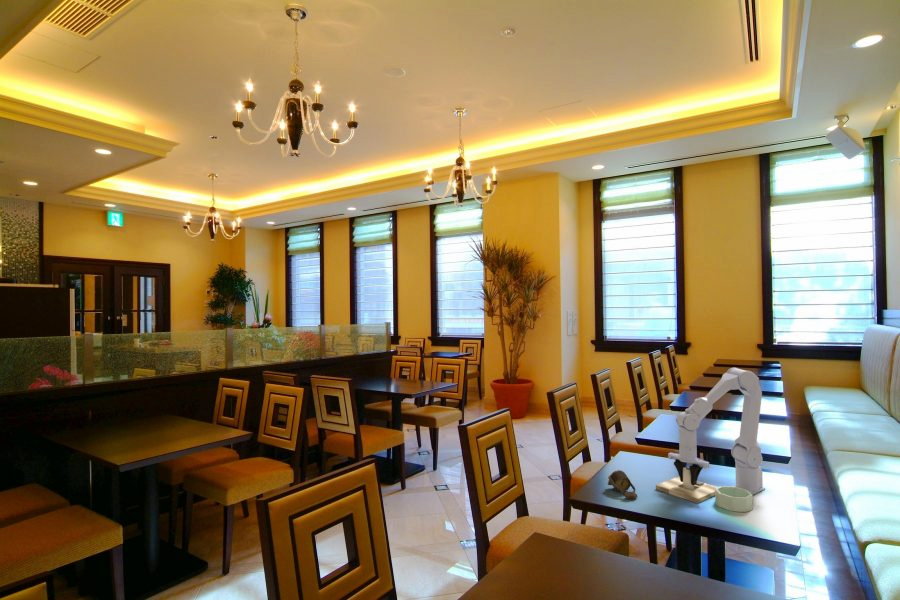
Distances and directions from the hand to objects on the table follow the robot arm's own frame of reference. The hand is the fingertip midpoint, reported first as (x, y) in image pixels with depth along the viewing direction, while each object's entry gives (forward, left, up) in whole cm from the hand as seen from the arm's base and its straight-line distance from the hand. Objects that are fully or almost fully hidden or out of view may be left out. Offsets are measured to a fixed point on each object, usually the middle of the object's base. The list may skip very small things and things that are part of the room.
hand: (688, 482), depth 185 cm
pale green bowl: (0, +16, -3) cm, 16 cm away
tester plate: (0, 0, -3) cm, 3 cm away
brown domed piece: (+21, -13, -3) cm, 25 cm away
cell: (0, 0, -3) cm, 3 cm away
